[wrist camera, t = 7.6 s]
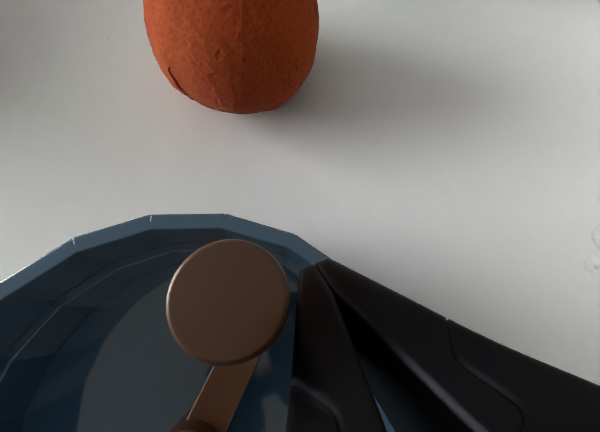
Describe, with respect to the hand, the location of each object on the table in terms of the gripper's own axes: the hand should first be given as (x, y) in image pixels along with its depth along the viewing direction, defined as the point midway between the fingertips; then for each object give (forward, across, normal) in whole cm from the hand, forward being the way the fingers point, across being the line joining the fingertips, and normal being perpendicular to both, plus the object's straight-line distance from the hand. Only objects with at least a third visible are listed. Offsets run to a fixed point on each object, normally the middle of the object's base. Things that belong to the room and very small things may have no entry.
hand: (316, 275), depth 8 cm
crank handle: (+3, +4, +6) cm, 8 cm away
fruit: (+15, -1, -4) cm, 16 cm away
